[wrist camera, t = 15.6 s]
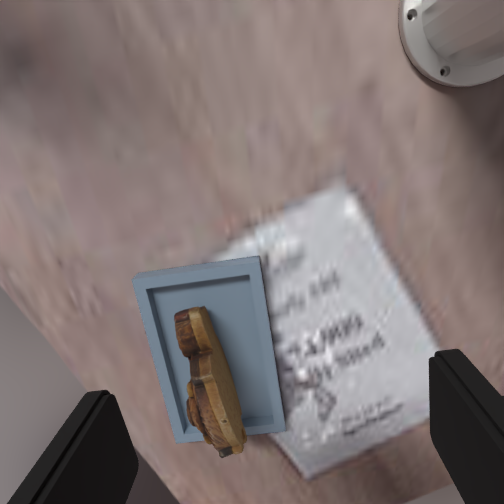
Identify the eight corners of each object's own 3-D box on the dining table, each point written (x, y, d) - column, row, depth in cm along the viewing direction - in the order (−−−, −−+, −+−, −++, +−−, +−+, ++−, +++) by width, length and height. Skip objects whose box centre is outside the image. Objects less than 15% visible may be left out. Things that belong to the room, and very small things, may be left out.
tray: (259, 255, 36) (259, 261, 34) (284, 418, 42) (285, 431, 40) (137, 272, 37) (131, 279, 35) (179, 430, 43) (176, 443, 41)
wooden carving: (167, 301, 37) (136, 353, 28) (206, 287, 37) (188, 336, 27) (225, 417, 42) (215, 497, 32) (260, 406, 41) (261, 485, 32)
